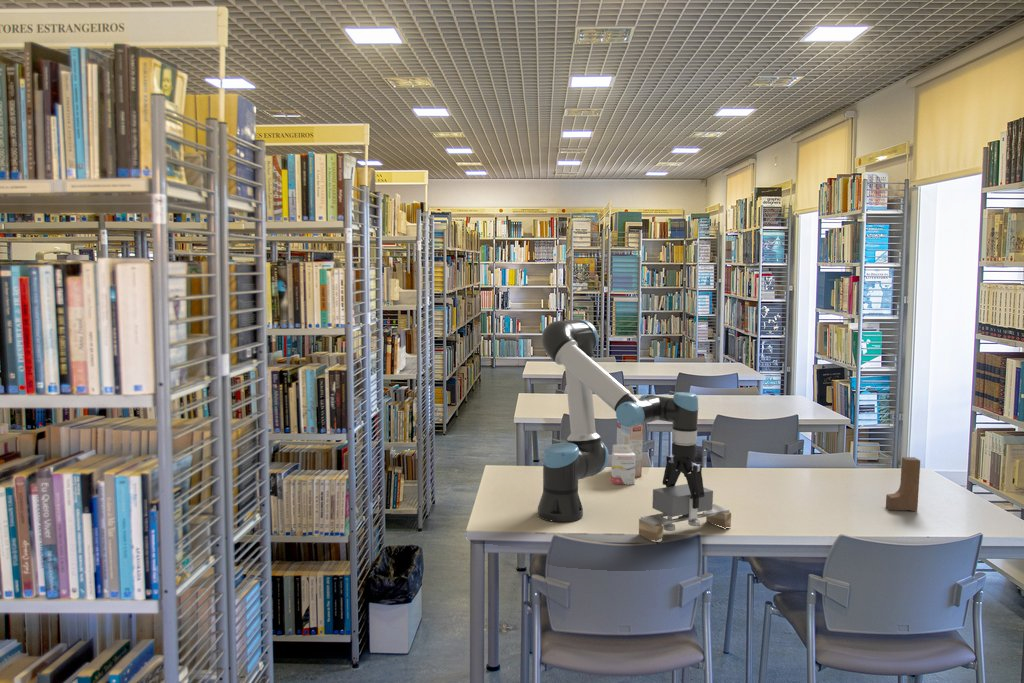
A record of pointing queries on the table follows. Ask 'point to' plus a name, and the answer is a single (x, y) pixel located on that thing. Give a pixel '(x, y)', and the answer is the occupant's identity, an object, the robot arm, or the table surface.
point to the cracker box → (632, 443)
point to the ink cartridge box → (623, 465)
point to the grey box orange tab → (679, 503)
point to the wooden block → (906, 487)
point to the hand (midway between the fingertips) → (682, 513)
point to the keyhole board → (653, 523)
